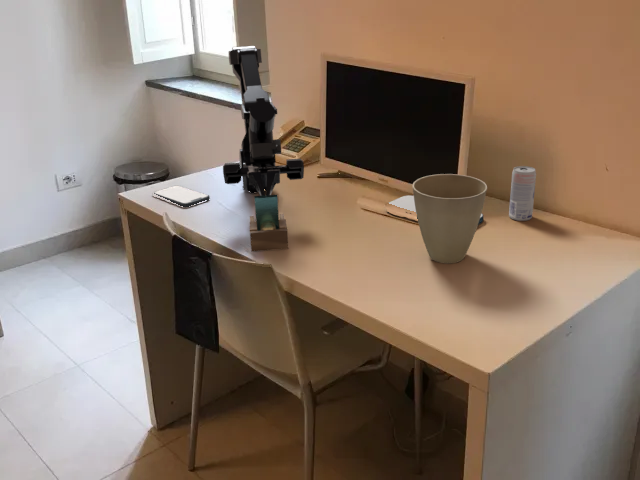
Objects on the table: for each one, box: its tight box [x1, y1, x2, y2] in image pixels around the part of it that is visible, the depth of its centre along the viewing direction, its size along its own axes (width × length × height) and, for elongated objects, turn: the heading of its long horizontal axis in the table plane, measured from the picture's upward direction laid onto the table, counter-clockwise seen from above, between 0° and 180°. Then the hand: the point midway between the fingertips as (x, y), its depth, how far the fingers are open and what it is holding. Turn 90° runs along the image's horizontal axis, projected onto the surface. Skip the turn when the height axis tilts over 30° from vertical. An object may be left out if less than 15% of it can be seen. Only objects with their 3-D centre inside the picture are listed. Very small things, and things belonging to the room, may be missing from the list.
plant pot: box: [412, 173, 488, 264], centre depth 141 cm, size 15×15×16 cm
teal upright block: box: [253, 194, 280, 231], centre depth 154 cm, size 8×5×9 cm, turn 6°
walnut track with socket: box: [249, 213, 289, 252], centre depth 158 cm, size 17×8×4 cm, turn 6°
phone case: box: [153, 185, 211, 208], centre depth 185 cm, size 9×2×16 cm
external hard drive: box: [388, 194, 484, 226], centre depth 166 cm, size 24×12×2 cm, turn 47°
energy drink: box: [508, 165, 537, 222], centre depth 161 cm, size 5×5×12 cm
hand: (266, 204), depth 157 cm, fingers closed
